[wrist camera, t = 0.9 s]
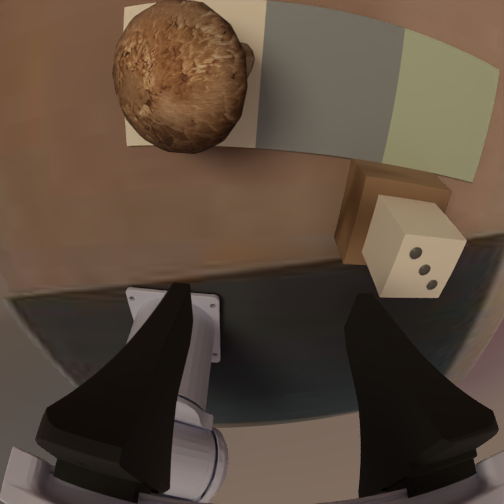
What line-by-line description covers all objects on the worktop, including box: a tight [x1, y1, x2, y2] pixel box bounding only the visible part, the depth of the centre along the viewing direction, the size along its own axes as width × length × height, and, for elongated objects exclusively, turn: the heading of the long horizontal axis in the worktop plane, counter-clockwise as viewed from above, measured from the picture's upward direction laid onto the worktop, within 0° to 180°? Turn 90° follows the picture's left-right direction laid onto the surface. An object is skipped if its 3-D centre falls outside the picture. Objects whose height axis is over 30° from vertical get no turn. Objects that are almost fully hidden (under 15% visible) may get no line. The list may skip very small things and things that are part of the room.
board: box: [124, 0, 500, 182], centre depth 15 cm, size 9×24×1 cm, turn 86°
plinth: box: [334, 158, 452, 265], centre depth 19 cm, size 6×6×3 cm
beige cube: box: [362, 195, 467, 298], centre depth 16 cm, size 4×4×4 cm
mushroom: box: [112, 0, 255, 154], centre depth 13 cm, size 8×8×6 cm
